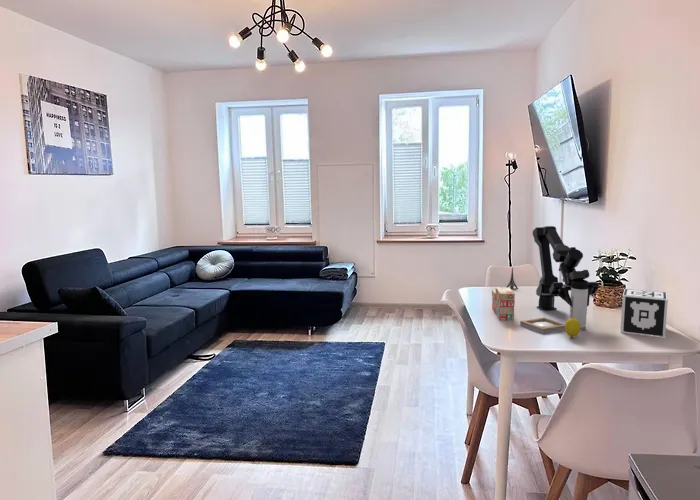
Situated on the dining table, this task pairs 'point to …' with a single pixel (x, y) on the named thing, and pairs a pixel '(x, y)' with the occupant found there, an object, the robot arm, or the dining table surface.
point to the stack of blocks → (503, 303)
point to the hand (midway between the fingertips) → (579, 305)
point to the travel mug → (579, 301)
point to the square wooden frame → (543, 325)
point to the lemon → (572, 327)
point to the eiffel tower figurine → (511, 283)
